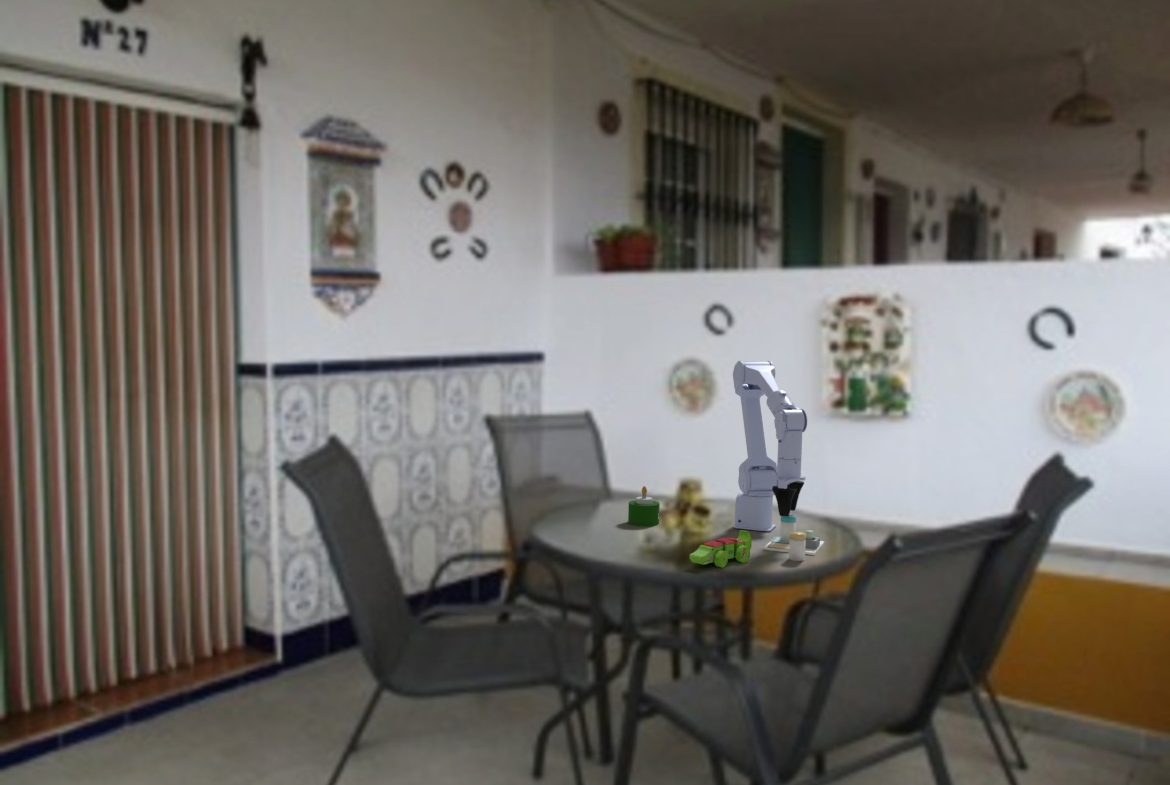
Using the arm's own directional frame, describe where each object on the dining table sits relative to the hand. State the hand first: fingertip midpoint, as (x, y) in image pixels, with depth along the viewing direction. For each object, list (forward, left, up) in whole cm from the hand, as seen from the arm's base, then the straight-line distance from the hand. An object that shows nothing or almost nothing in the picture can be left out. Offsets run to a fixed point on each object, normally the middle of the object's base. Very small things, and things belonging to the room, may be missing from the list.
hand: (787, 513), depth 244 cm
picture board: (+3, -3, -8) cm, 8 cm away
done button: (+6, -4, -5) cm, 9 cm away
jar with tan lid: (+6, -15, -8) cm, 18 cm away
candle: (-39, +6, -8) cm, 41 cm away
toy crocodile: (-9, -26, -8) cm, 28 cm away
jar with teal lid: (0, 0, -7) cm, 7 cm away
